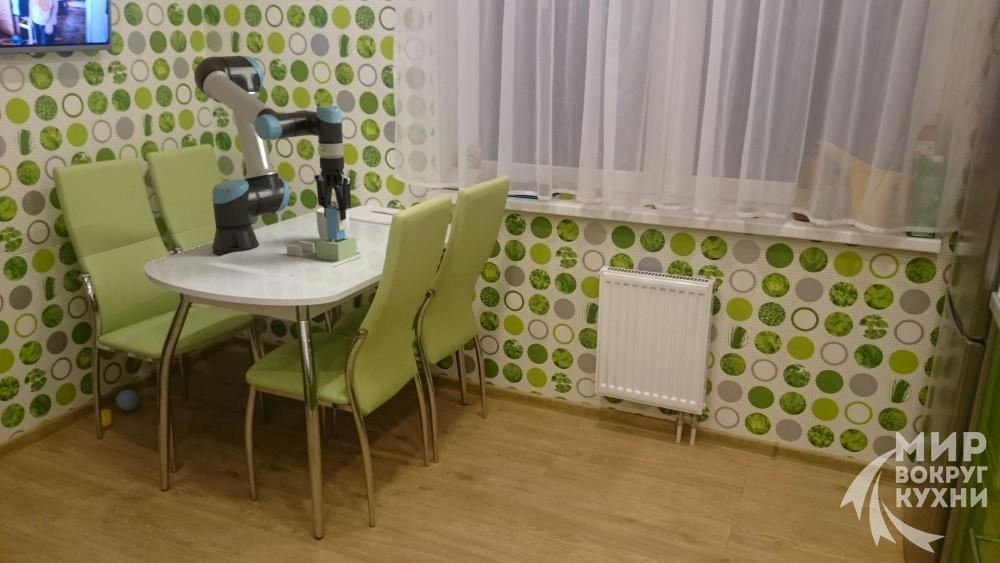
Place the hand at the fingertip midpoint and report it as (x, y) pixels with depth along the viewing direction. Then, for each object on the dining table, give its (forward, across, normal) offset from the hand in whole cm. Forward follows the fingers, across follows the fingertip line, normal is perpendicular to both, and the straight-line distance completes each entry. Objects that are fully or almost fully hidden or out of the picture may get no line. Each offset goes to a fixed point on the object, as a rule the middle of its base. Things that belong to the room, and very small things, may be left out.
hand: (335, 228), depth 261 cm
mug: (+11, -12, +13) cm, 21 cm away
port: (+9, 0, 0) cm, 9 cm away
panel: (+11, -6, 0) cm, 12 cm away
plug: (+3, 0, 0) cm, 3 cm away
